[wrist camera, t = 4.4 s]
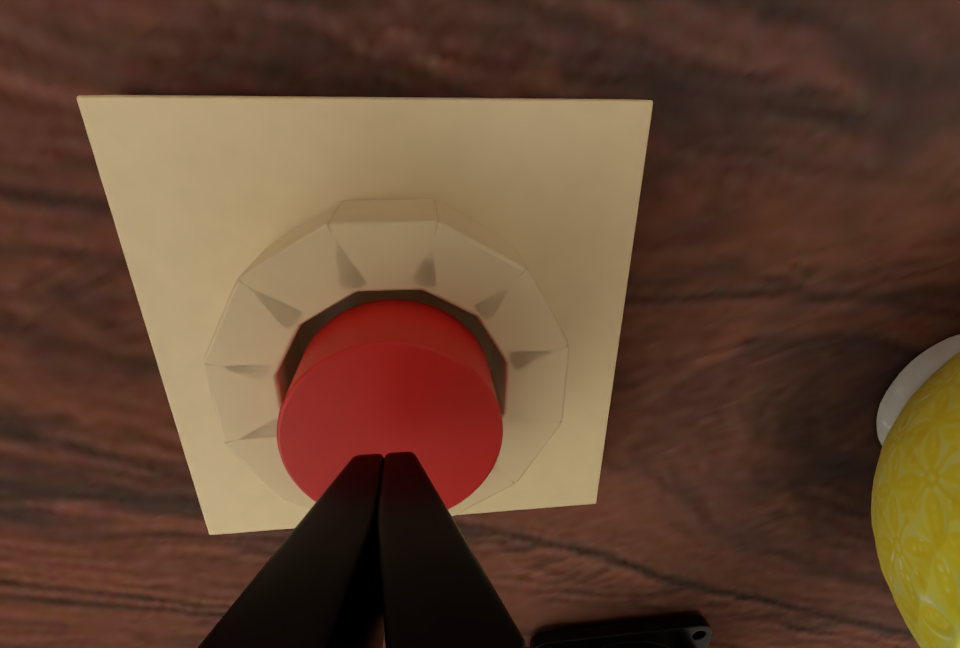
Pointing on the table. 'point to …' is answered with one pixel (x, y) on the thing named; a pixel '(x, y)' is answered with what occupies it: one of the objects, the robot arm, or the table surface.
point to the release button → (392, 399)
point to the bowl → (922, 494)
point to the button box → (375, 264)
